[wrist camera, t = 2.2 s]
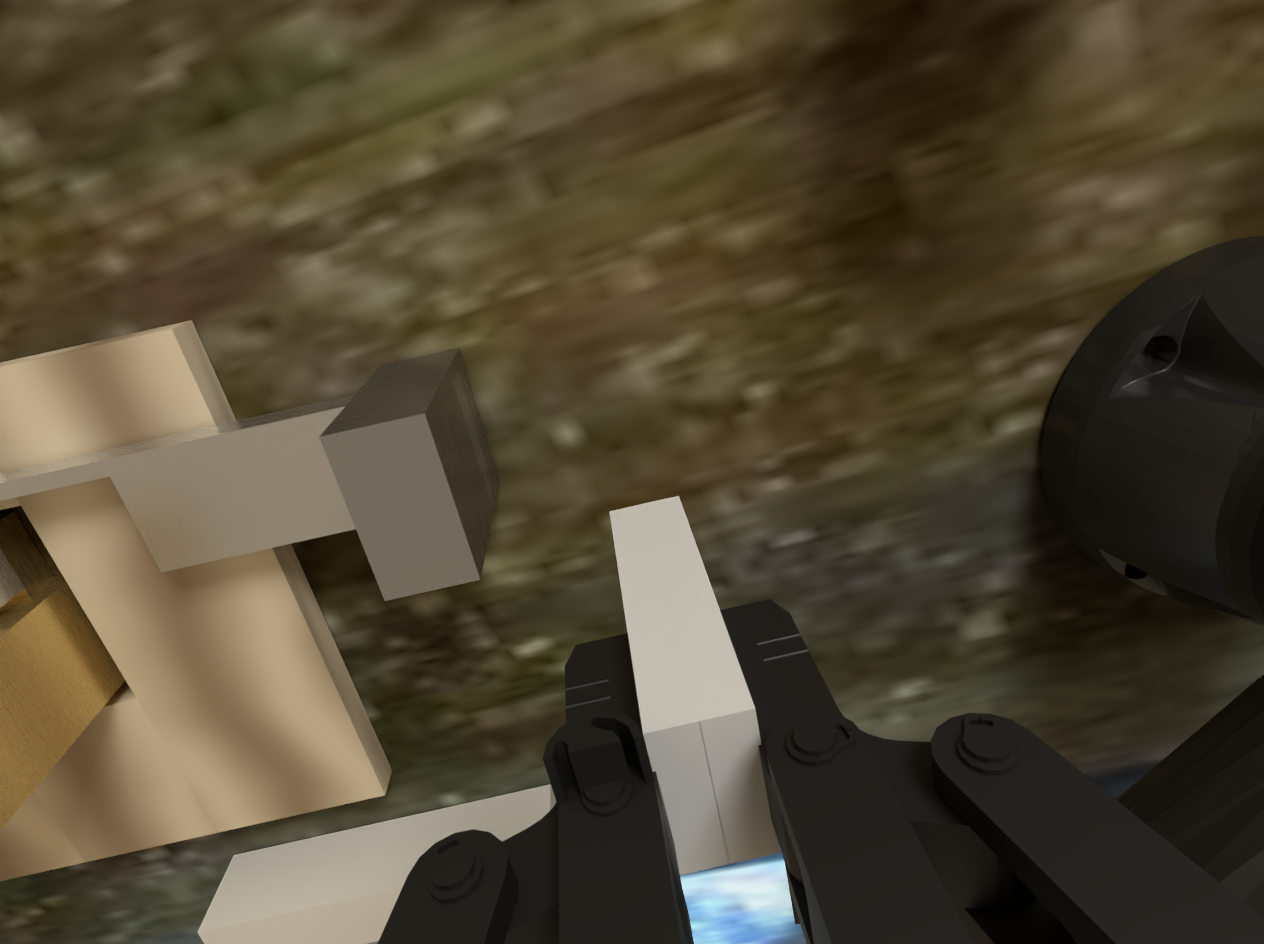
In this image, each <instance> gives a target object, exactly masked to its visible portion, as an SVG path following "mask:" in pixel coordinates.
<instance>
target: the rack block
mask: <svg viewBox="0 0 1264 944" xmlns="http://www.w3.org/2000/svg"><path fill="white" fill-rule="evenodd" d="M556 803H557V802H556V799H555V796H554V793H553V790H552V787H551V784H550V785H545V786H541V787H536V788H532V789H527V790H523V791H518V792H514V793H509V794H505V795H500V796H496V797H491V798H487V799H482V800H478V801H474V802H469V803H465V804H460V805H456V806H451V807H447V808H442V809H438V810H433V811H429V812H424V813H420V814H415V815H411V816H406V817H402V818H398V819H393V820H389V821H384V822H380V823H375V824H371V825H366V826H362V827H357V828H353V829H348V830H344V831H339V832H335V833H330V834H326V835H322V836H317V837H313V838H308V839H304V840H299V841H295V842H290V843H286V844H281V845H277V846H272V847H268V848H263V849H259V850H254V851H250V852H246V853H241V854H237V855H234V856H233V858H232V860H231V862H230V864H229V866H228V868H227V871H226V873H225V875H224V877H223V879H222V881H221V883H220V886H219V888H218V890H217V892H216V894H215V896H214V898H213V900H212V903H211V905H210V907H209V909H208V911H207V913H206V915H205V918H204V920H203V922H202V924H201V926H200V928H199V930H198V932H197V933H198V934H199V936H200V937H201V939H202V940H203V942H204V943H205V944H378V941H379V939H380V937H381V935H382V932H383V930H384V928H385V926H386V923H387V921H388V919H389V917H390V914H391V912H392V910H393V908H394V905H395V903H396V901H397V899H398V896H399V894H400V892H401V890H402V887H403V885H404V883H405V881H406V878H407V876H408V874H409V873H410V871H411V870H412V868H413V867H414V865H415V863H416V862H417V860H418V859H419V857H420V856H421V855H423V854H424V853H425V852H426V851H427V850H428V849H429V848H430V847H431V846H433V845H434V844H435V843H436V842H438V841H440V840H442V839H444V838H446V837H448V836H450V835H451V834H453V833H457V832H462V831H467V830H472V829H475V830H480V831H486V832H490V833H492V834H493V835H494V836H496V837H497V838H498V839H499V840H501V841H504V840H506V839H508V838H510V837H512V836H514V835H515V834H517V833H519V832H521V831H523V830H525V829H527V828H528V827H530V826H532V825H533V824H535V823H536V822H538V821H539V820H541V819H542V818H543V817H544V816H545V815H546V814H547V813H548V812H549V811H550V810H551V809H552V808H553V807H554V805H555V804H556Z"/></svg>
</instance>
